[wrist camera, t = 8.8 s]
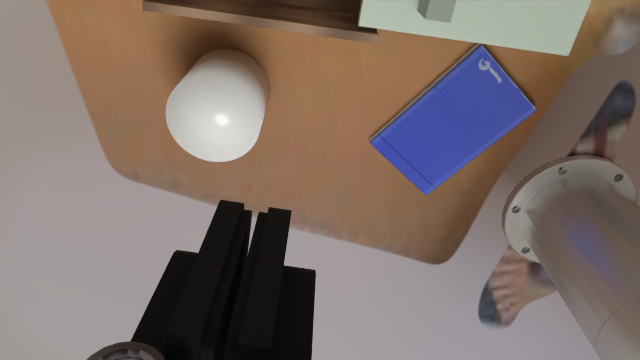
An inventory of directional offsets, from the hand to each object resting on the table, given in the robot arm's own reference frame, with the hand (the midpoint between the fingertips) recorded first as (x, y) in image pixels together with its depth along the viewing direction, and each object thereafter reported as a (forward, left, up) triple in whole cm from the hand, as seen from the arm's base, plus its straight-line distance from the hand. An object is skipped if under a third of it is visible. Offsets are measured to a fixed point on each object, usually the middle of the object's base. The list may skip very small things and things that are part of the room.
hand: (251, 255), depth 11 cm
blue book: (-15, +8, -31) cm, 35 cm away
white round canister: (+5, +7, -30) cm, 31 cm away
